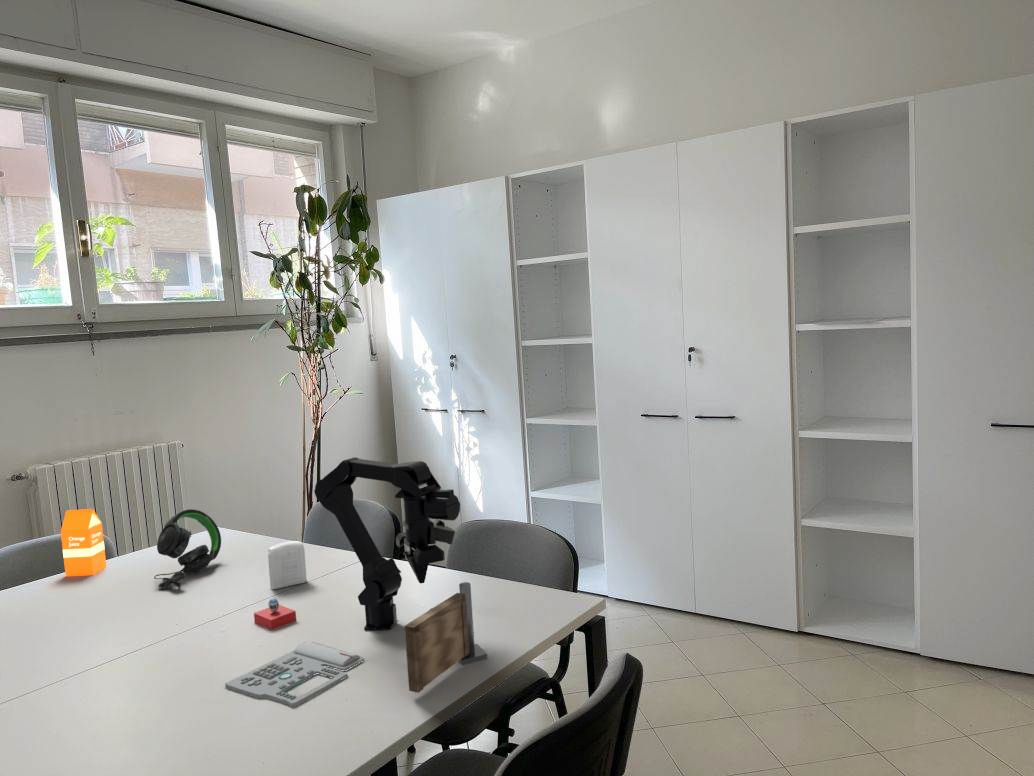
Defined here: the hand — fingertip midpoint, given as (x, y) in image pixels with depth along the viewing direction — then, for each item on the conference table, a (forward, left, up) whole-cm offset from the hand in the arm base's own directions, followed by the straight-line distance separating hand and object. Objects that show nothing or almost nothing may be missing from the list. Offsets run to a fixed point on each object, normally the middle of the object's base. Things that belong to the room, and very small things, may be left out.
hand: (421, 582), depth 178 cm
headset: (-82, +46, -12) cm, 95 cm away
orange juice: (-120, +51, -12) cm, 131 cm away
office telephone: (-22, -20, -13) cm, 32 cm away
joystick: (-40, +8, -12) cm, 43 cm away
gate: (+8, -23, -11) cm, 26 cm away
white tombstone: (-47, +35, -12) cm, 60 cm away
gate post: (+12, -13, -12) cm, 22 cm away
